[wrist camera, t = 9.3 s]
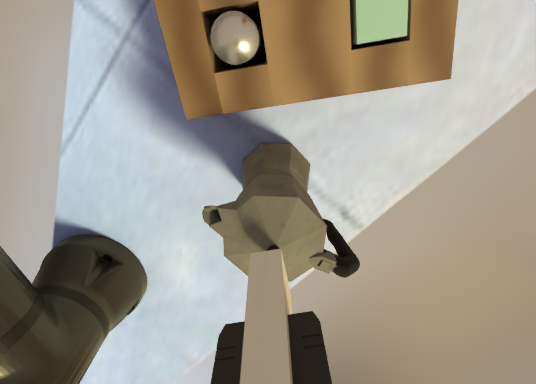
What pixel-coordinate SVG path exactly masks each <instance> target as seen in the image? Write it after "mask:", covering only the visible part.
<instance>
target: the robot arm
mask: <svg viewBox="0 0 536 384" xmlns="http://www.w3.org/2000/svg"><path fill="white" fill-rule="evenodd" d="M146 288H147V277H146V273H145V270H144V268H143V266H142V264H141V263H140V261H139V260H138V259H137V258H136V257H135V256H134V255H133V254H132V253H131V252H130V251H129V250H128V249H126V248H125V247H123V246H122V245H120V244H118V243H116V242H114V241H112V240H110V239H107V238H104V237H100V236H94V235H77V236H73V237H69V238H67V239H65V240H63V241H61V242H60V243H59V244H58V245H57V246H55V247H54V248H53V249H52V250H51V251H50V252H49V253H48V254H47V255H46V257H45V258H44V260H43V262H42V265H41V267H40V270H39V272H38V273H37V275H36V277H35V279H34V281H33V283H32V284H31V282H30V281H29V280H28V279H27V278H26V276H25V275H24V274H23V273H22V272H21V270H20V269H19V268H18V267H17V266H16V264H15V263H14V262H13V261H12V260H11V258H10V257H9V256H8V255H7V254H6V252H5V251H4V250H3V249H2V248H1V246H0V384H79V383H80V381H81V380H82V378H83V376H84V374H85V373H86V371H87V369H88V368H89V366H90V364H91V362H92V361H93V359H94V357H95V355H96V354H97V352H98V350H99V348H100V347H101V345H102V343H103V341H104V340H105V338H106V336H107V335H108V333H109V332H110V331H111V330H112V329H113V328H114V327H116V326H117V325H118V324H119V323H120V322H121V321H122V320H123V319H124V318H125V317H126V316H127V315H129V314H130V313H131V312H132V311H133V310H134V309H135V308H136V307H137V306H138V304H139V303H140V301H141V299H142V297H143V295H144V294H145V291H146ZM211 384H332V381H331V376H330V371H329V366H328V361H327V355H326V350H325V345H324V341H323V335H322V330H321V325H320V321H319V319H318V318H317V317H316V315H315V314H314V313H313V312H312V311H310V312H303V313H297V314H292V307H291V296H290V289H289V284H288V279H287V274H286V270H285V265H284V260H283V255H282V251H281V249H275V250H269V251H263V252H256V253H250V264H249V277H248V289H247V301H246V314H245V322H238V323H231V324H226V325H225V326H224V328H223V330H222V331H221V333H220V335H219V338H218V344H217V351H216V356H215V362H214V367H213V373H212V379H211Z"/></svg>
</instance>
